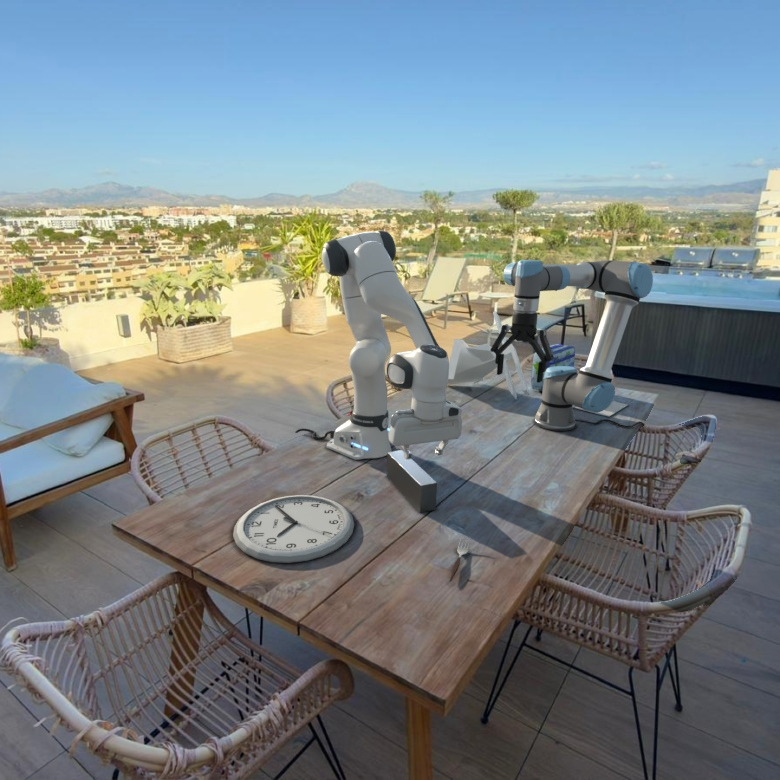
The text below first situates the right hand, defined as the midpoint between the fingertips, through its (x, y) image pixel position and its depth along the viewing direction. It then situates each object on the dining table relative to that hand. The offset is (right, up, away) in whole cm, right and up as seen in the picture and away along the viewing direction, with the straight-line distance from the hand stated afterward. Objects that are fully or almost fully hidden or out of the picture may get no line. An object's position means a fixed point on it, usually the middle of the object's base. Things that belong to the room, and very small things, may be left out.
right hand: (519, 377), depth 168 cm
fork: (-26, -43, -48) cm, 70 cm away
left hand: (-33, -22, -28) cm, 48 cm away
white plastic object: (0, -5, +76) cm, 76 cm away
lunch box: (+36, -3, +83) cm, 91 cm away
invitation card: (+50, -11, +59) cm, 78 cm away
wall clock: (-66, -39, -35) cm, 84 cm away
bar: (-36, -33, -17) cm, 52 cm away
